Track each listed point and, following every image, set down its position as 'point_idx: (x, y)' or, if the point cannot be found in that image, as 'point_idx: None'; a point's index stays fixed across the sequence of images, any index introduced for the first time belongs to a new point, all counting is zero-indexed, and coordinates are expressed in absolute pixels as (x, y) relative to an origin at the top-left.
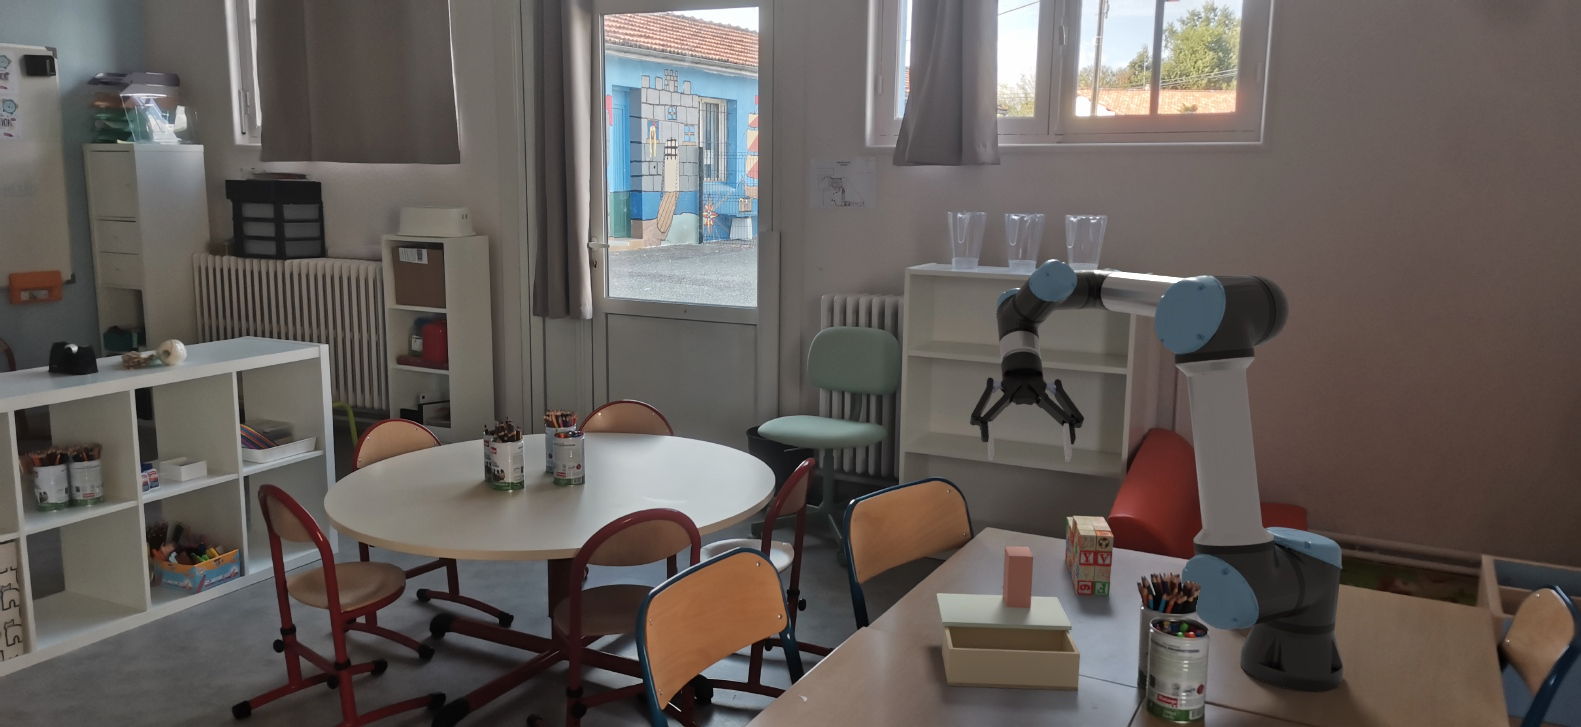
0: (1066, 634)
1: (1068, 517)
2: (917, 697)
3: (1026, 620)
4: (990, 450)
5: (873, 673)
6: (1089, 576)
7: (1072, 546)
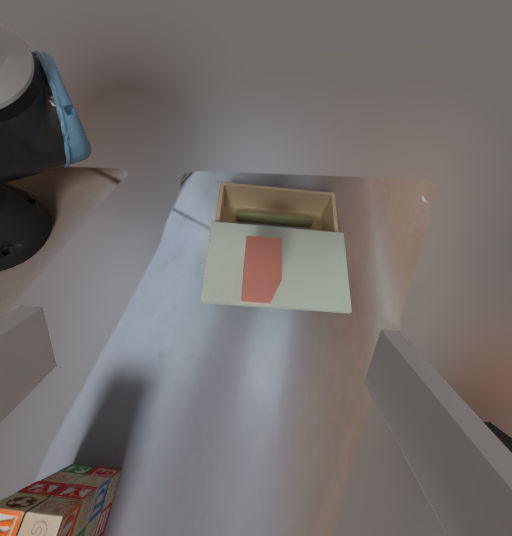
0: (219, 219)
1: None
2: (345, 197)
3: (256, 235)
4: (403, 337)
5: (382, 233)
6: (89, 477)
7: None
